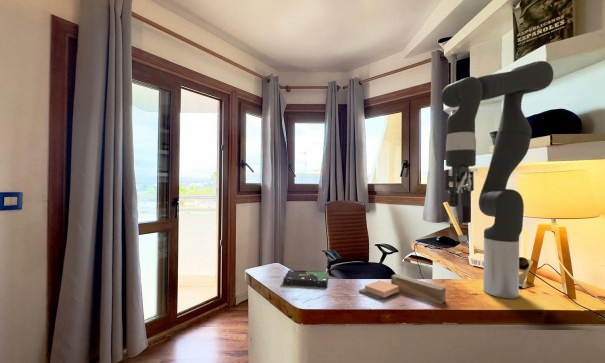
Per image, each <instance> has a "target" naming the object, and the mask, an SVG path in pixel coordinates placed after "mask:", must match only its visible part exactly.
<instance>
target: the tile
mask: <svg viewBox="0 0 605 363" xmlns="http://www.w3.org/2000/svg"><path fill="white" fill-rule="evenodd" d="M364 288H365V291H367V292H370V293H373V294H376V295H378V296H381V297H384V298H387V297H389V296H391V295H394V294H396V293H398V292H400V291H399V286H397V285H393V284H391V283H389V282H386V281H383V280H377V281H374V282H372V283H368V284H365V285H364ZM384 298H383V299H384Z"/></svg>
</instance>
